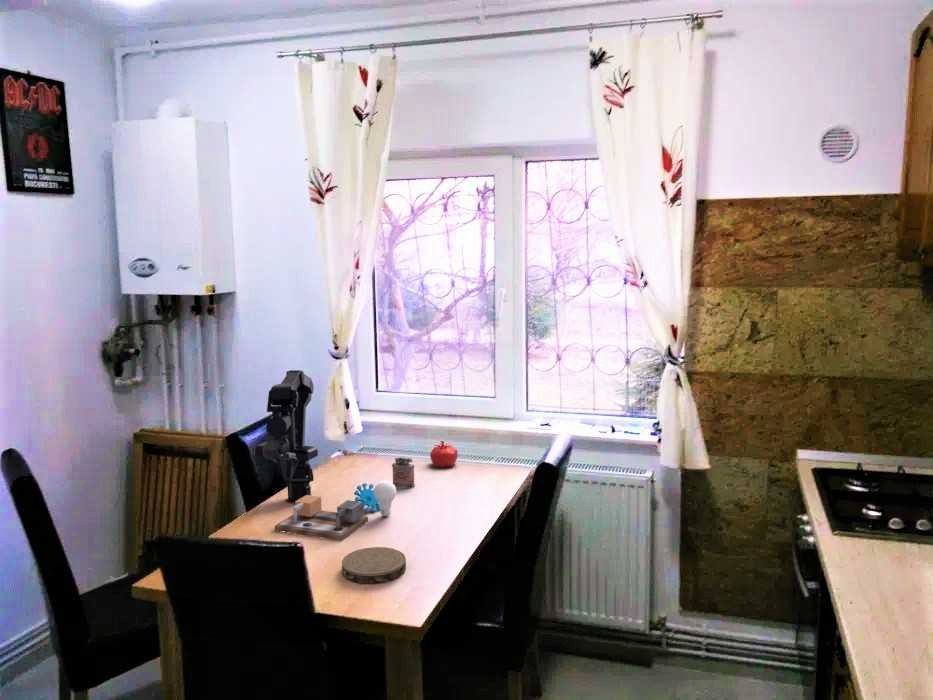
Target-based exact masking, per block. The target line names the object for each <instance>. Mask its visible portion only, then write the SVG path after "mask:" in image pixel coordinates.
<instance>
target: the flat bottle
mask: <svg viewBox="0 0 933 700" xmlns="http://www.w3.org/2000/svg"><path fill="white" fill-rule="evenodd" d="M394 461H395V462H393V463H391V467H392V483H393V484H394V486H396V487H395V488H401V487H402V488H403V489H414V488H415V487H416V484H415V464H413V458H412V457H411V458H410V457H405V456H401V457H399V456H395V458H394Z"/></svg>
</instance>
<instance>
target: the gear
mask: <svg viewBox="0 0 933 700" xmlns="http://www.w3.org/2000/svg"><path fill="white" fill-rule="evenodd" d="M367 486H368V488H367ZM362 488H363V489H362ZM373 488H375V486H374V484H372V483H370V484H369V485H368V484H367V483H365V482H364V483H362V484H361V485H357V486H356V489H355V491H354V493H353V495H354V496H355V498H354V501H358V502H363V508H364V507H365V506H366V507H365V508H364V511H365V512H367V513H369V512H370V509H371V508H372V509H371V513H374V512H375V513H377V511H381V509H380V505H379V502H378V501H377V499H376V498H375V496H374V489H373ZM375 513H374V514H375Z"/></svg>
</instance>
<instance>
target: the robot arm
mask: <svg viewBox="0 0 933 700" xmlns="http://www.w3.org/2000/svg"><path fill="white" fill-rule="evenodd" d="M285 374H286V375H285V377H284V378H283V379H282V381H281V382H280V383H277V384H274V385H273V386H272V387H271V388H270V389H269V391H268V397H267V405H266V407H267V408H266V412H267V413H272V415H271V418H269V419H268V420H267V422H266V426H265V427H266V431H267V433H268V435H270V436H271V439H270V440H269V441H263V442H262V443H259V444H257V445H255V447H254V449H253V452H254V456H256V457H257V456H259V457H263V456H264V458H265V459H267V460H271V461H272V462H274V463H275V466H276V467H277V469H278V472H279V474H280V477H281V479H282V481H283V484H286V485H287V498H286V499H284V501H285V502H286V501H287V502H288V503H294V504H295V501H297V500H299V499H300V498H302V497H304V496H306V495H311V496H313V495H312V489H311V484H310V483H311V482H314V480H315V479H314V472H313V468H312V466H311V464H310V460H312V459H315V458H316V457H318V454H319V451H318V448H317V447H316V446H311V445H305V442H306V441H305V440H306V439H305V437H306V436H305V435H306V420H307V419H306V418H307V417H306V416H307V406H308V405H309V403H310V402H311V401H312V394H314V383H313V379H312V378H311V377H309V376H308V375H306V374H305V373H304V370H301V369H298V370H297V369H295V370H294V369H292V370H291V369H290V370H287V371H286V373H285Z"/></svg>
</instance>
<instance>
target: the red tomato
mask: <svg viewBox="0 0 933 700" xmlns="http://www.w3.org/2000/svg"><path fill="white" fill-rule="evenodd" d="M458 454H459V453H458V450H457V449H456V448H455V447H454V446H453V445H452V444H450V443H449V442H448V443H446V444H445V441H444V440H441V441H440V443H439V444H436V445H434V447H433V449H432V450H431V452H430V455H429V456H430V460H431V462H432V464H433V466H434V467H436V468H447V467H452V466H454V465H455V463H457V460H458V456H459V455H458Z"/></svg>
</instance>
